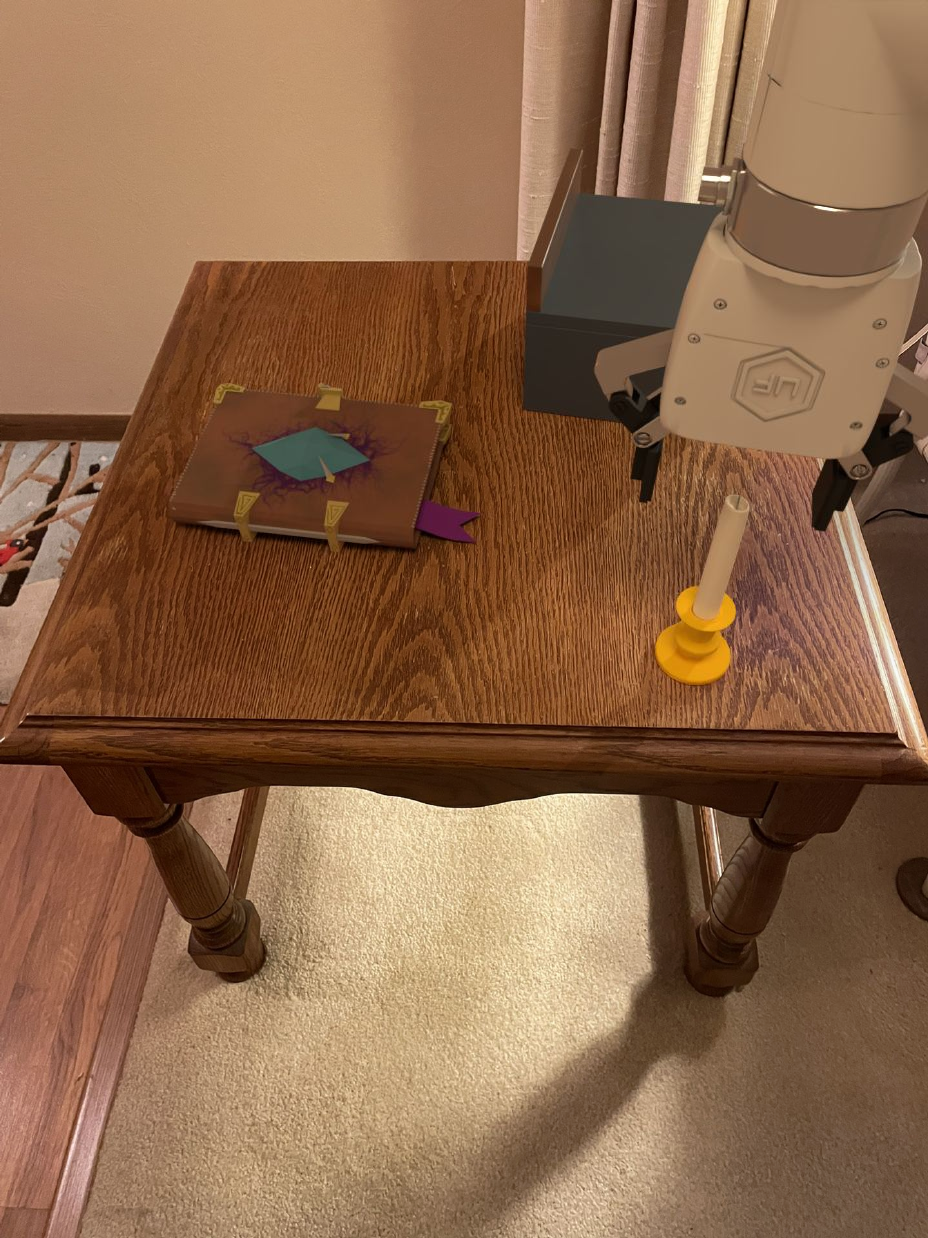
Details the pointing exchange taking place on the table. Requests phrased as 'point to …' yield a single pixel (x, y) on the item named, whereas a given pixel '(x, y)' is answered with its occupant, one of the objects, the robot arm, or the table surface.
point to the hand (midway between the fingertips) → (731, 499)
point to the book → (319, 468)
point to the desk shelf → (602, 288)
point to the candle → (706, 608)
